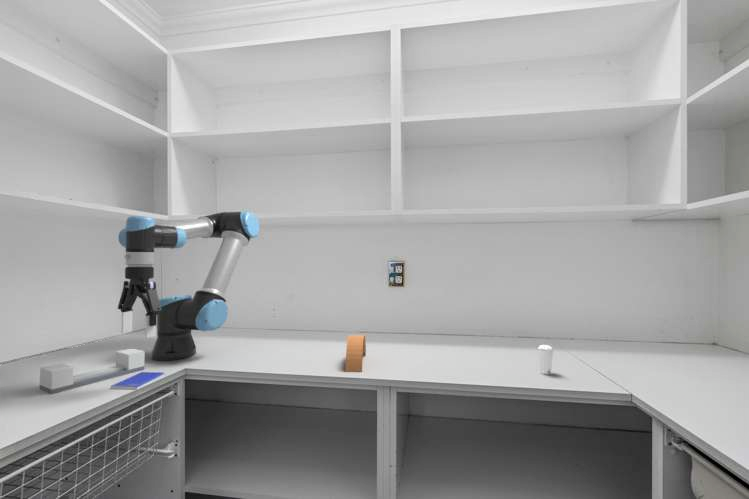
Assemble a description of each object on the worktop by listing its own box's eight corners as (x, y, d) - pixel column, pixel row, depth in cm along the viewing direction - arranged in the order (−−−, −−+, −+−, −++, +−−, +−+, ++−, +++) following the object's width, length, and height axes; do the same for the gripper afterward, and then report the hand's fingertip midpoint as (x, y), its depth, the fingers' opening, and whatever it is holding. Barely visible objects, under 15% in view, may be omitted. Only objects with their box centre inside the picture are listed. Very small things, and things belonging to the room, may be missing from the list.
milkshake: (549, 377, 114) (549, 345, 114) (535, 372, 119) (534, 342, 119) (558, 374, 116) (558, 343, 117) (544, 370, 121) (543, 340, 121)
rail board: (131, 365, 127) (131, 348, 127) (144, 369, 123) (144, 351, 123) (39, 388, 105) (40, 367, 105) (51, 393, 101) (52, 371, 102)
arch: (344, 372, 120) (344, 342, 120) (351, 355, 140) (351, 329, 140) (362, 372, 120) (362, 342, 120) (366, 355, 140) (366, 330, 140)
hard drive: (137, 385, 105) (164, 372, 117) (110, 385, 105) (140, 371, 118) (137, 391, 105) (164, 377, 117) (110, 390, 105) (140, 376, 118)
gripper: (106, 265, 115) (104, 332, 114) (149, 266, 103) (148, 341, 102) (131, 265, 121) (130, 328, 121) (175, 266, 109) (174, 336, 109)
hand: (138, 334), depth 111 cm, fingers open, 13 cm apart
